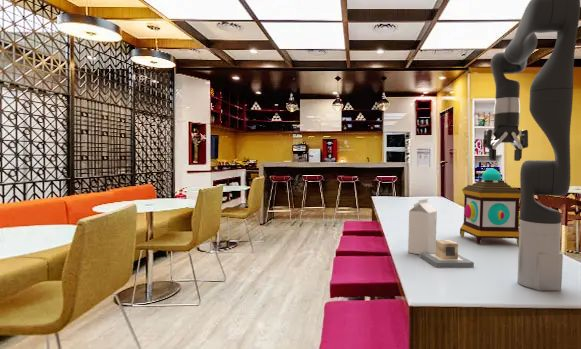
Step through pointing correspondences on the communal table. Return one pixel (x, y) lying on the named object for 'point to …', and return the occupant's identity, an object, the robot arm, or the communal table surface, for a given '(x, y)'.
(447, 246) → the marked cube
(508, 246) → the communal table surface
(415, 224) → the milk carton
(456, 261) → the slate board
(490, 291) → the communal table surface
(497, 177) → the decorative lantern
